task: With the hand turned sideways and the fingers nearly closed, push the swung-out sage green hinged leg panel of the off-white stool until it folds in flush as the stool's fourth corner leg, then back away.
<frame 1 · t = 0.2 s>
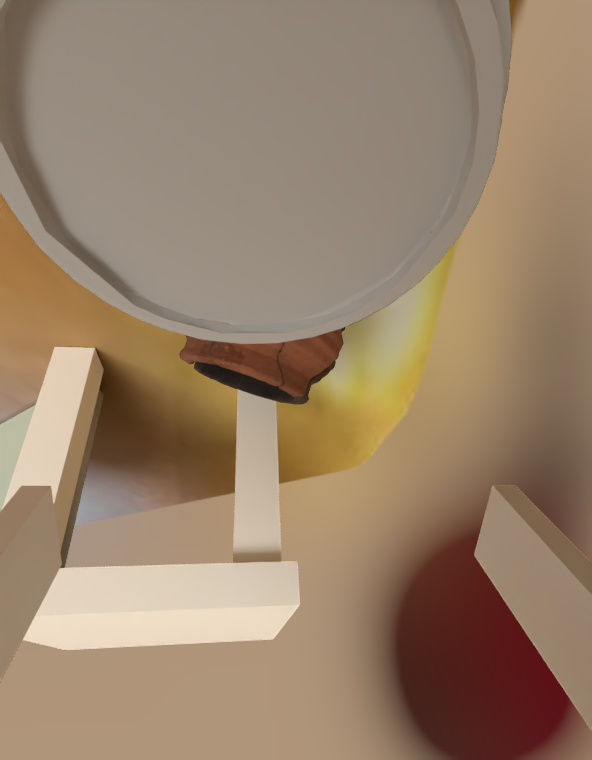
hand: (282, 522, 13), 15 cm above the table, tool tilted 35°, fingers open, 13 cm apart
stool: (180, 411, 37), on the table
brown curved piece: (264, 268, 25), on the table
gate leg: (21, 491, 31), point 7 cm above the table, hinge at -50.0°
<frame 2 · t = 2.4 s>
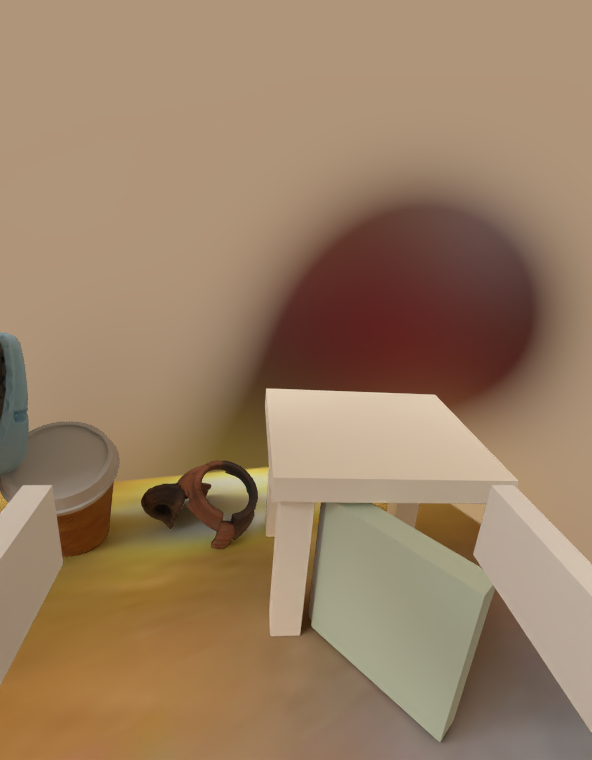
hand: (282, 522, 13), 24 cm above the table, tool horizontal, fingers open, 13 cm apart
stool: (349, 569, 45), on the table
brown curved piece: (199, 526, 49), on the table
disposable coffee cup: (77, 531, 46), on the table, touching arm
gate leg: (383, 601, 33), point 7 cm above the table, hinge at -50.0°
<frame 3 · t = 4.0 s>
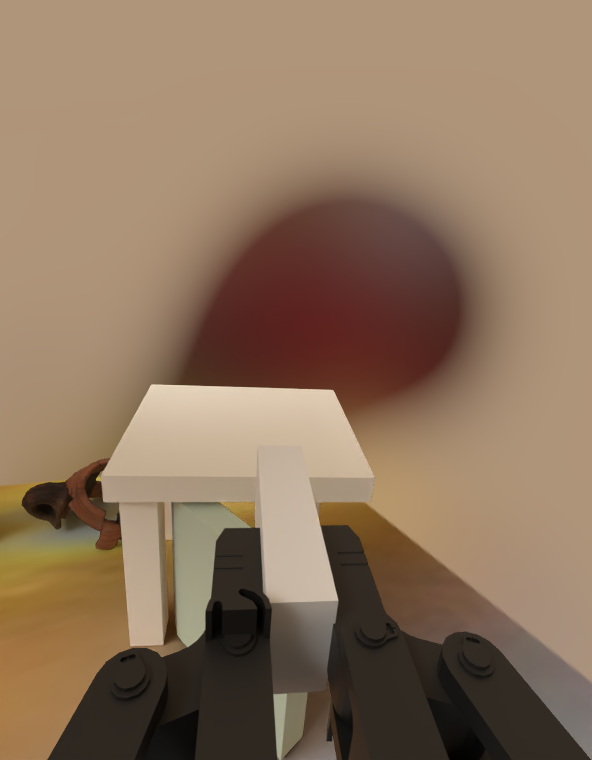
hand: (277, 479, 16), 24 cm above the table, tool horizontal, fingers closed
stool: (238, 573, 42), on the table
brown curved piece: (93, 526, 47), on the table
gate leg: (231, 608, 30), point 7 cm above the table, hinge at -50.0°
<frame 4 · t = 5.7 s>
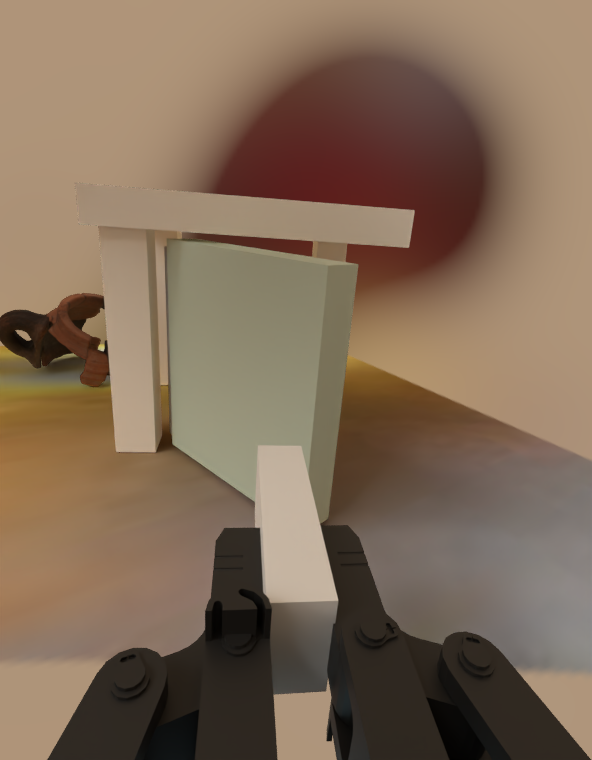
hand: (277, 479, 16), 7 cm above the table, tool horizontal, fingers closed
stool: (243, 408, 37), on the table
brown curved piece: (78, 374, 42), on the table
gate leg: (238, 371, 25), point 7 cm above the table, hinge at -50.0°
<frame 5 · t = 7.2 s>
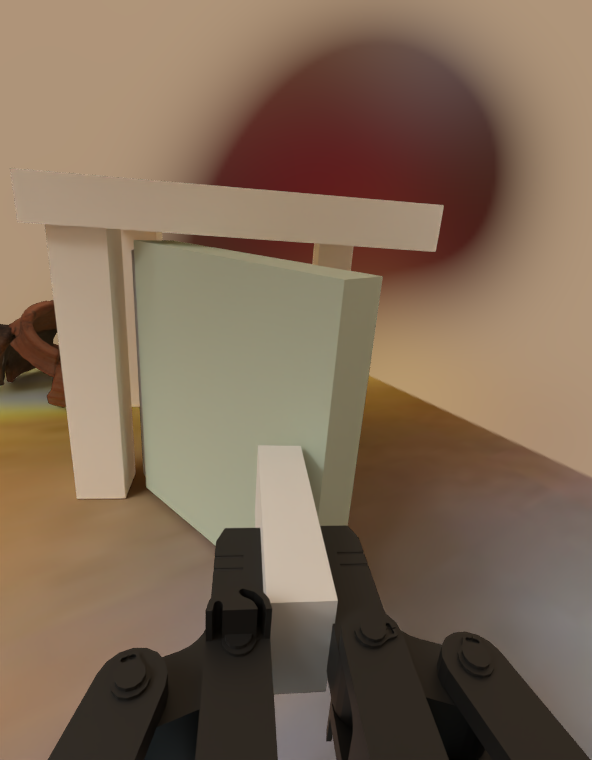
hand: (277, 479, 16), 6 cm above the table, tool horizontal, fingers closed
stool: (234, 436, 32), on the table
brown curved piece: (48, 391, 37), on the table
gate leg: (224, 407, 20), point 7 cm above the table, hinge at -49.5°, touching gripper
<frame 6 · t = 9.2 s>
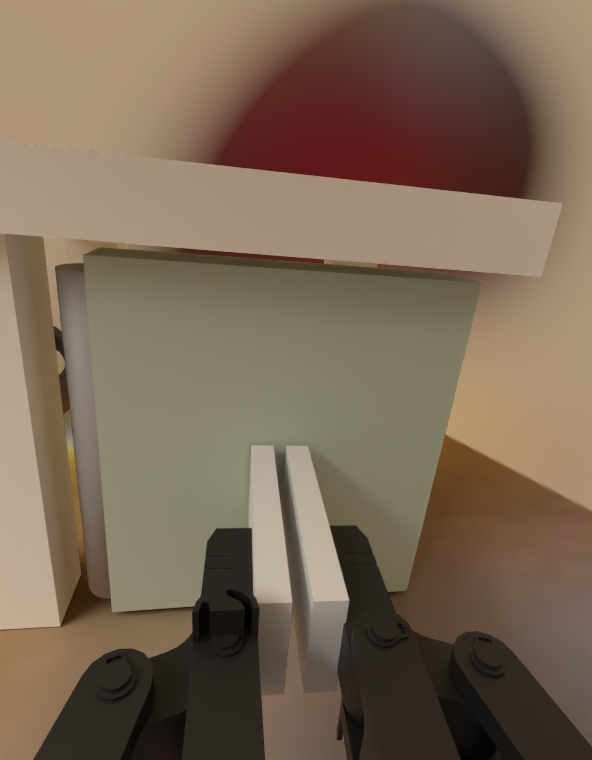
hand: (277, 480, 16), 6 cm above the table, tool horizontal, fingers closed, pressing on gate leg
stool: (220, 501, 24), on the table
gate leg: (264, 446, 16), point 7 cm above the table, hinge at 1.8°, touching gripper
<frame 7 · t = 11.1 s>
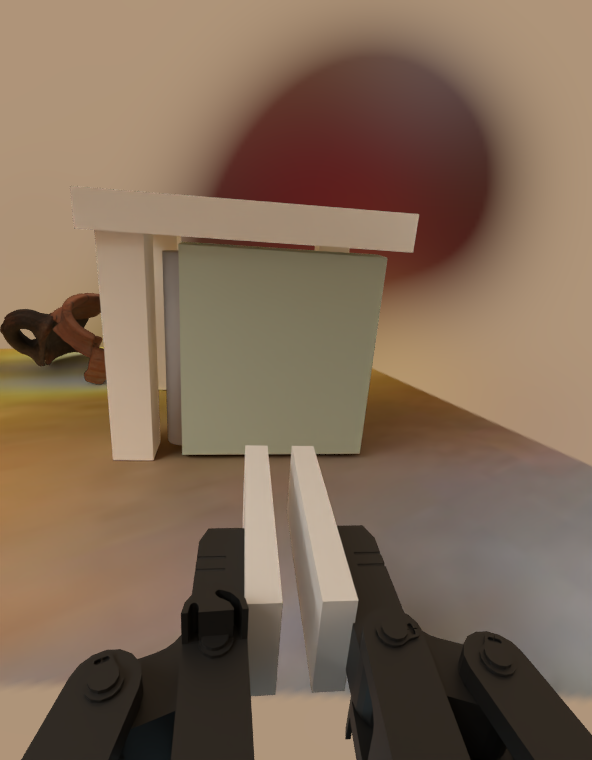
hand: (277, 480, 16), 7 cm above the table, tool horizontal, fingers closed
stool: (243, 414, 36), on the table
brown curved piece: (81, 372, 43), on the table
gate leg: (270, 356, 28), point 7 cm above the table, hinge at 2.0°
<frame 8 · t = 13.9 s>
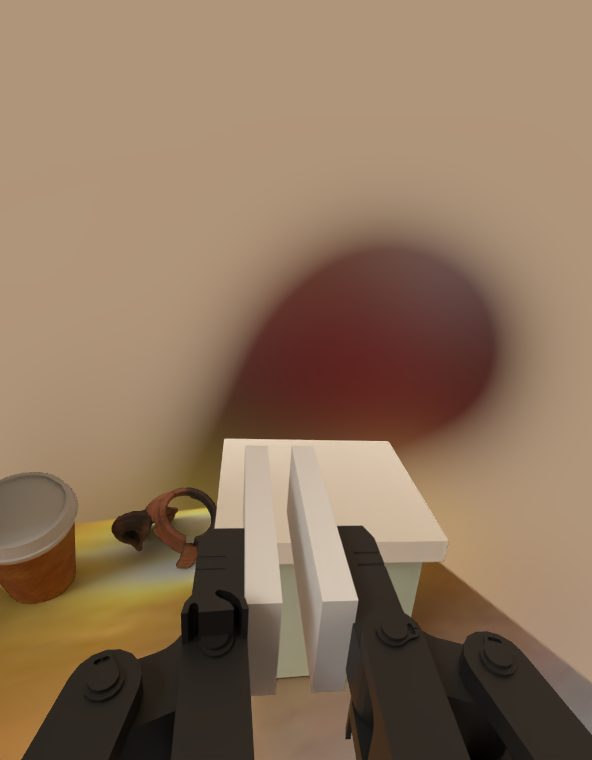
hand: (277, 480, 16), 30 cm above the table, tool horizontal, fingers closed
stool: (305, 613, 46), on the table
brown curved piece: (167, 547, 54), on the table
disposable coffee cup: (44, 578, 48), on the table, touching arm
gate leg: (336, 609, 39), point 7 cm above the table, hinge at 2.0°
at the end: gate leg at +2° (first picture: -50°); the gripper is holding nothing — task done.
